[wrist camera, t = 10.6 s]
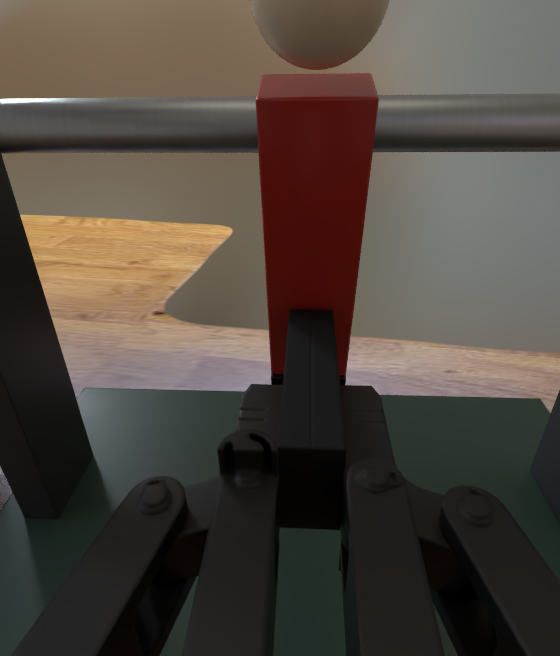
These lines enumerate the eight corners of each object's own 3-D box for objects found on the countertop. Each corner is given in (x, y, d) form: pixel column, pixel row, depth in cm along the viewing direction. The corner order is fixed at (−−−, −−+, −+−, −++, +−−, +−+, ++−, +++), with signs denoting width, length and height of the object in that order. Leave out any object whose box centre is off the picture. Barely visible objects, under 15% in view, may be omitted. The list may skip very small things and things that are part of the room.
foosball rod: (-39, 401, 20) (-456, -84, 9) (2, 341, 22) (-282, -92, 11) (579, 417, 18) (999, -133, 7) (546, 351, 21) (822, -129, 10)
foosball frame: (-87, 676, 15) (-618, 81, 6) (88, 403, 27) (-9, 68, 18) (733, 723, 14) (1526, 54, 5) (534, 414, 26) (661, 59, 17)
